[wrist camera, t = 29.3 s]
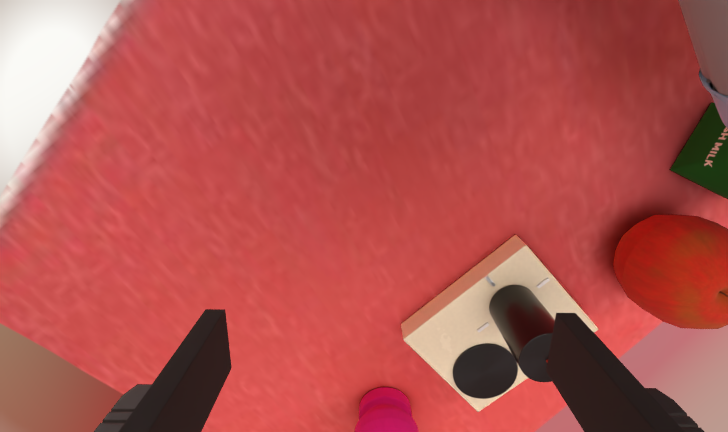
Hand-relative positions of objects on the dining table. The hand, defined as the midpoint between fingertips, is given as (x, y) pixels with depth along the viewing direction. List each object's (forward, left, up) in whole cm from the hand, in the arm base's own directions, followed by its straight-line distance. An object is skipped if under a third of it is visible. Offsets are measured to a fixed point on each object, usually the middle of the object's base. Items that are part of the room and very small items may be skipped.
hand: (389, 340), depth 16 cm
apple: (-16, +24, -26) cm, 39 cm away
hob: (+1, +20, -26) cm, 33 cm away
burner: (+5, +23, -23) cm, 33 cm away
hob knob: (-2, +18, -23) cm, 30 cm away
